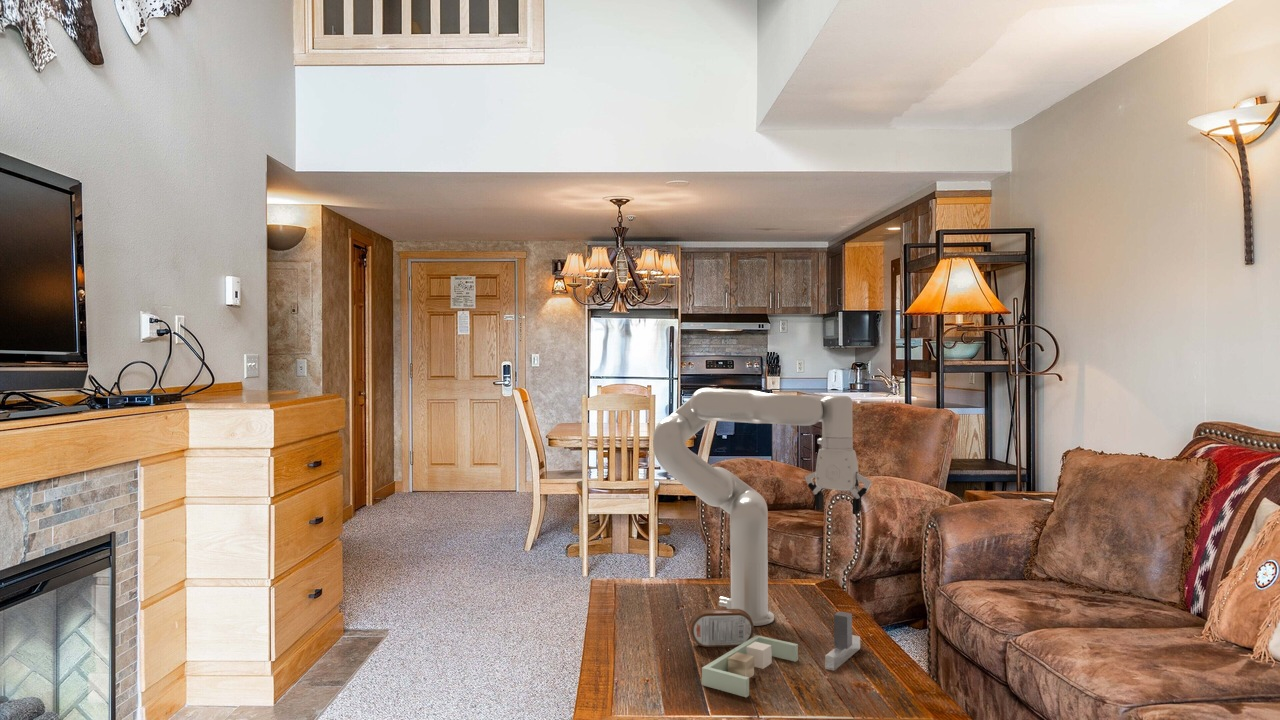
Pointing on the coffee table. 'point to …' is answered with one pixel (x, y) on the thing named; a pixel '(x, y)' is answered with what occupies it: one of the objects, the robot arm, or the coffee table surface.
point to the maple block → (741, 664)
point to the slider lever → (842, 641)
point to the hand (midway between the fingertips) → (837, 511)
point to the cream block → (760, 654)
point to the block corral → (737, 684)
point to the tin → (721, 627)
